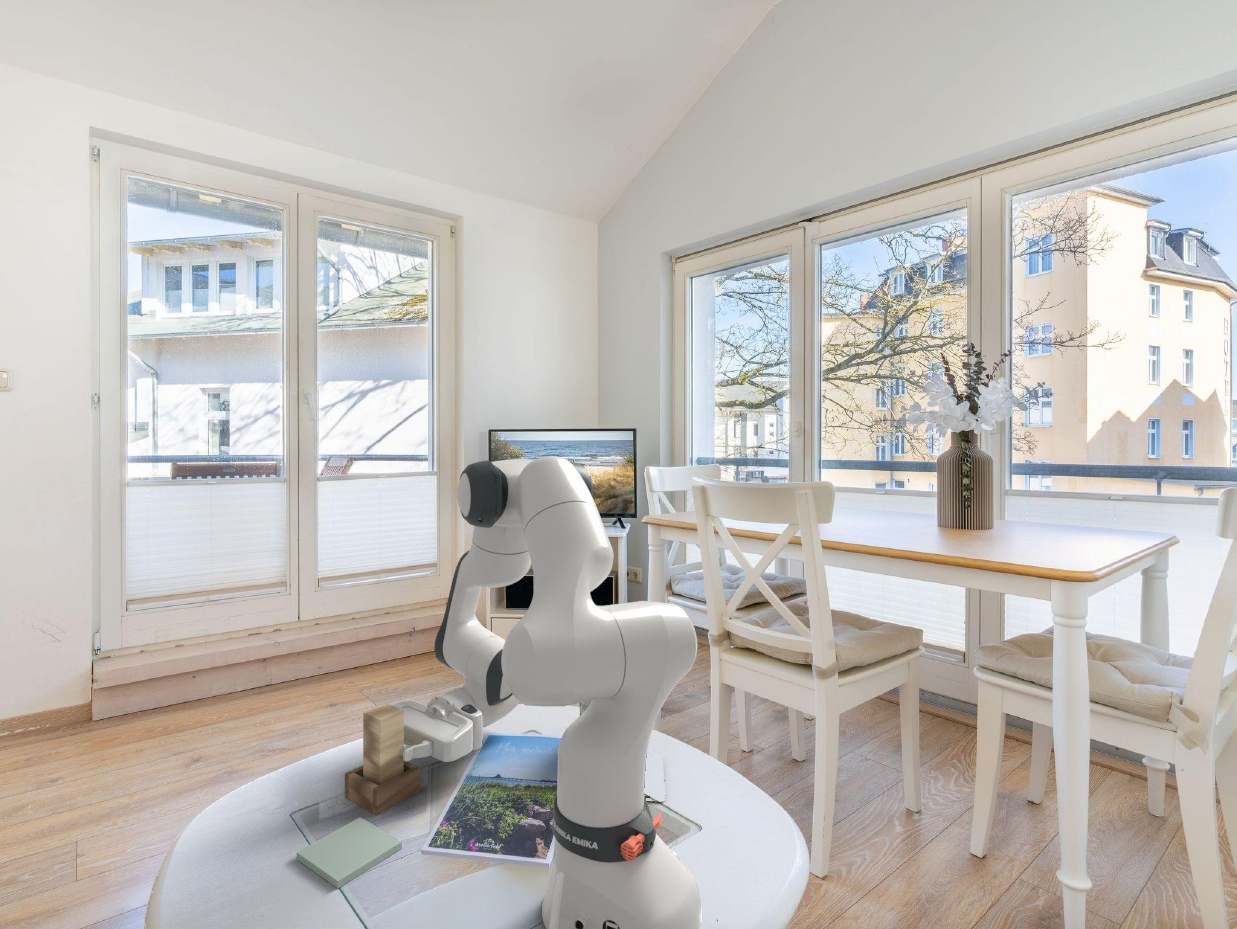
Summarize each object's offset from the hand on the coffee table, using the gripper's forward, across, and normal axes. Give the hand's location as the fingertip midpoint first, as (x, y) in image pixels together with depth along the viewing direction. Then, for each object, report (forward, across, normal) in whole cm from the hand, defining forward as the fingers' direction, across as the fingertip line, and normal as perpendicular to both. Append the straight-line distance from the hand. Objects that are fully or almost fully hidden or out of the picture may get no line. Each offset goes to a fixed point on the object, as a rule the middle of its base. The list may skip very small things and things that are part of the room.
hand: (383, 747), depth 105 cm
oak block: (0, 0, +8) cm, 8 cm away
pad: (+12, +9, +8) cm, 17 cm away
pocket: (0, 0, +8) cm, 8 cm away
